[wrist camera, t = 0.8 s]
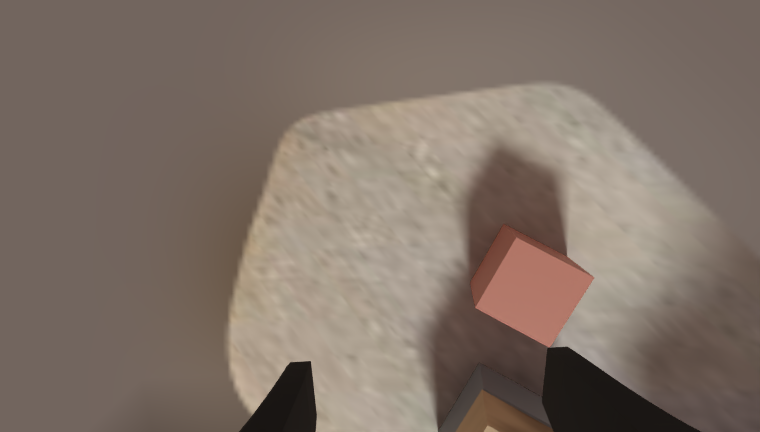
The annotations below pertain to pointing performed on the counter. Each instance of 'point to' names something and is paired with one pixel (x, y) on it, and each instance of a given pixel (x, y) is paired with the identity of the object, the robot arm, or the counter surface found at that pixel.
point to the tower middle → (498, 417)
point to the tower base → (500, 389)
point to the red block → (528, 285)
